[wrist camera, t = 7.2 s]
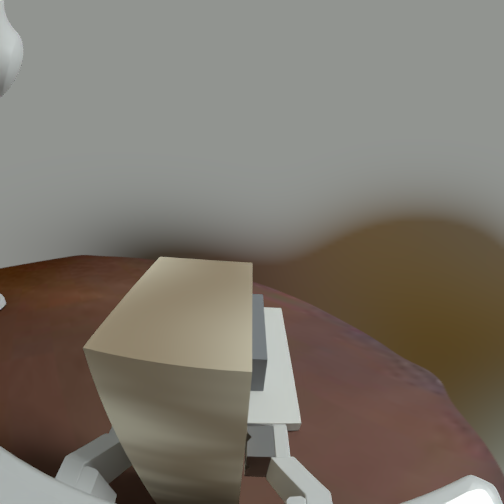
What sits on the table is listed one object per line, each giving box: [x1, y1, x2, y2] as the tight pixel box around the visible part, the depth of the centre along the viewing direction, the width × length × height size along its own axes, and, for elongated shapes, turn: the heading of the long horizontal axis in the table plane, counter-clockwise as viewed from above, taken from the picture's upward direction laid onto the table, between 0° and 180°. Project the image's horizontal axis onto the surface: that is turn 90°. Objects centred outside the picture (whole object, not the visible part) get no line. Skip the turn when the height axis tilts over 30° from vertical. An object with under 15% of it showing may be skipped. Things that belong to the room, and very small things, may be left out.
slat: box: [83, 257, 252, 504], centre depth 9 cm, size 3×5×15 cm, turn 0°
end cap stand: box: [247, 294, 301, 431], centre depth 26 cm, size 12×18×4 cm, turn 0°
